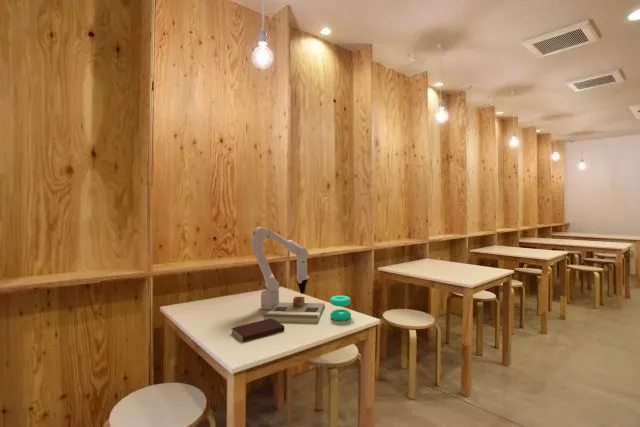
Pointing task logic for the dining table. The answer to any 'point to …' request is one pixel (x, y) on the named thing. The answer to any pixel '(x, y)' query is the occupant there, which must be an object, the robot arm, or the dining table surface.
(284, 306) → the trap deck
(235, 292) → the dining table surface
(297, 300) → the block
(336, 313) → the donuts
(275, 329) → the book
